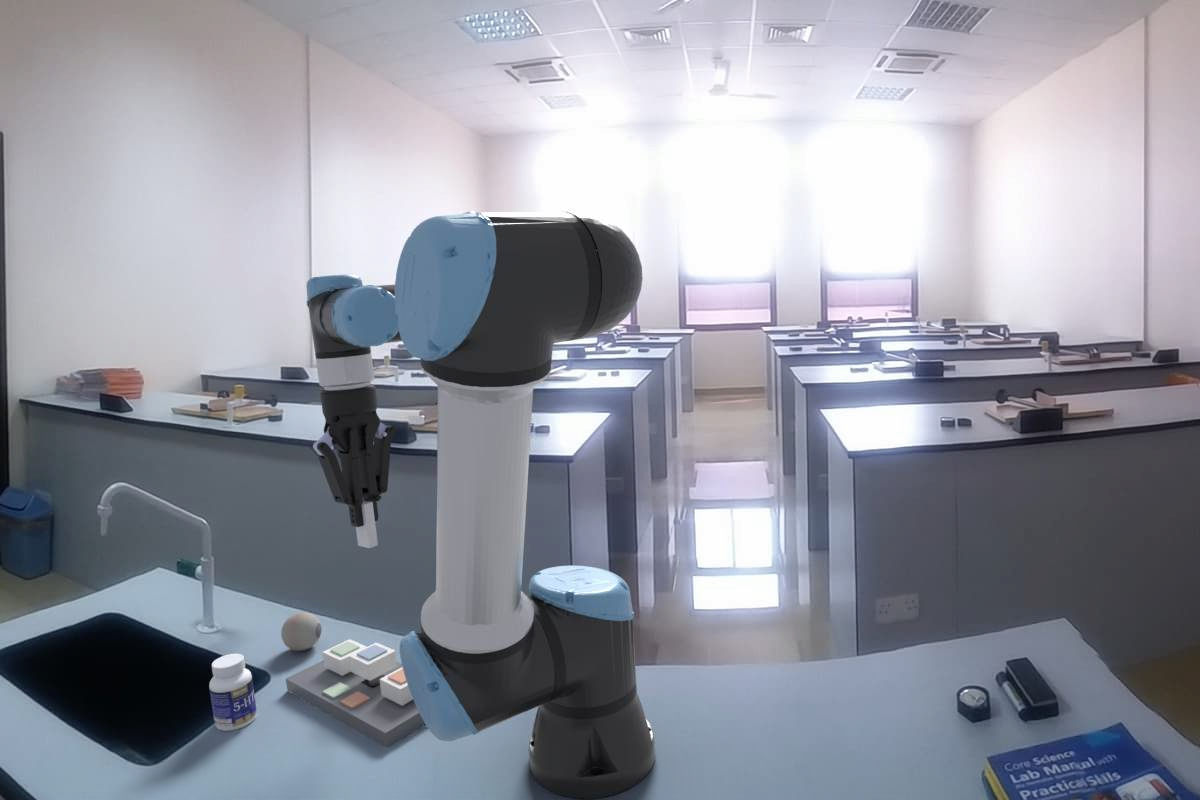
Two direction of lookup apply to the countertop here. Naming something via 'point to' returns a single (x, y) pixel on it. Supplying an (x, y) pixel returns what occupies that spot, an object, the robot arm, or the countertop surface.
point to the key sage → (341, 656)
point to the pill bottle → (232, 693)
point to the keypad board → (356, 703)
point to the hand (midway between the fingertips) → (368, 545)
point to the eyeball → (301, 631)
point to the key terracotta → (396, 687)
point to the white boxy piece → (373, 662)
